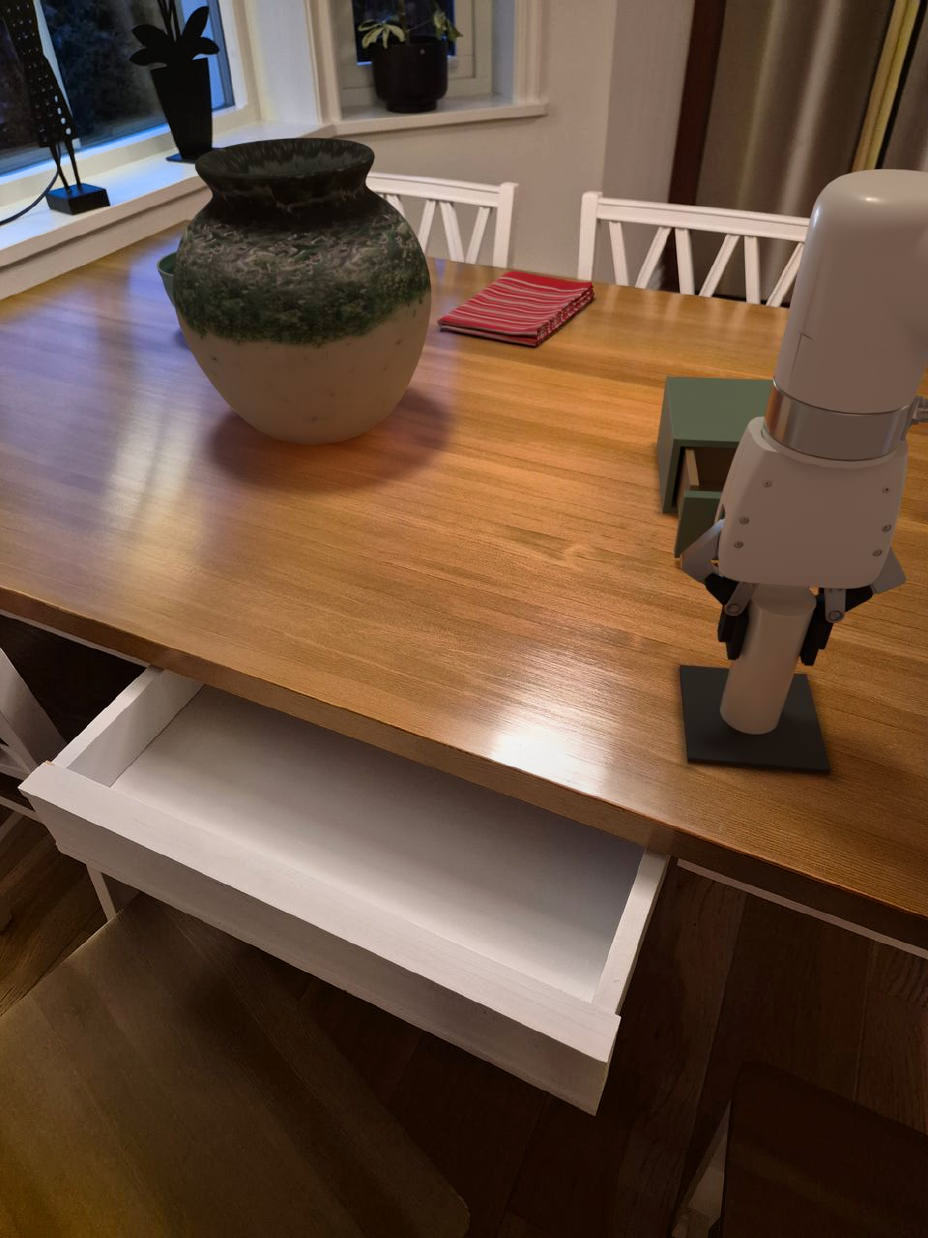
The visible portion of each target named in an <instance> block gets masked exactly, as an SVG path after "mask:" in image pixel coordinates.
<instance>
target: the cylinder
mask: <svg viewBox="0 0 928 1238" xmlns="http://www.w3.org/2000/svg"><path fill="white" fill-rule="evenodd" d="M815 595H816V594H815V593H814V592H813V590H811V589H810V588H809V587H806V586H790V585H776V584H762V583H759V584H758V586H757V588H756V590H755V591H754V593H753V595H752V596H751V598H750V600H749V602H748V603H747V607H746V608H747V611H748V616H749V622H748V626H747V630H746V634H745V638H744V642H743V645H742V649H741V653H740V657H739V659H736V660H730V664H729V672H728V676H727V680H726V684H725V688H724V692H723V696H722V700H721V704H720V713H721V716H722V717H723V719H724V720H725V722H726V723H727V724H729V725H730V726H731V727H733V728H734V729H736V730H738V731H741V732H744V733H748V734H764V733H768V732H770V731H772V730H773V729H774V728H776V726H777V725H778V723H779V720H780V717H781V713H782V710H783V707H784V704H785V701H786V698H787V695H788V691H789V688H790V685H791V682H792V679H793V676H794V673H796V669H797V666H798V663H799V660H800V654H801V651H802V648H803V644H804V641H805V638H806V635H807V632H808V629H809V626H810V623H811V619H812V616H813V613H814V610H815V607H816V597H815Z"/></svg>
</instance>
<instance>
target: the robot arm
mask: <svg viewBox="0 0 928 1238" xmlns="http://www.w3.org/2000/svg"><path fill="white" fill-rule="evenodd" d="M927 366H928V172H927V171H920V170H911V169H899V168H898V169H895V168H879V169H877V168H876V169H865V170H859V171H858V170H857V171H853V172H850V173H847V174H843V175H840V176H839V177H836V178H834V180H832V181H830V182H829V183H828V184H826V186H825V187H824V188H823V189H822V190H821V192H820V193H819V194H818V196H817V198H816V200H815V202H814V205H813V207H812V211H811V215H810V218H809V221H808V225H807V230H806V234H805V238H804V243H803V247H802V252H801V255H800V261H799V265H798V269H797V274H796V279H795V282H794V287H793V290H792V295H791V300H790V304H789V309H788V312H787V317H786V321H785V326H784V331H783V333H782V339H781V343H780V348H779V352H778V356H777V362H776V365H775V369H774V374H773V378H772V380H773V382H772V386H771V390H770V395H769V399H768V403H767V408H766V412H765V417H756V418H754V419H752V420H751V421H750V422H749V424H748V426H747V428H746V430H745V432H744V434H743V436H742V438H741V441H740V443H739V446H738V448H737V450H736V453H735V456H734V459H733V461H732V464H731V467H730V470H729V473H728V476H727V479H726V482H725V486H724V489H723V492H722V496H721V499H720V502H719V506H718V510H717V513H716V517H715V522H714V526H712V527H711V528H710V529H709V530H708V531H707V532H706V533H704V534H703V535H702V536H701V537H700V538H699V539H698V540H696V541H695V542H694V543H693V544H692V545H691V546H690V547H688V548H687V549H686V550H685V551H684V552H683V553H682V554H681V555H680V558H679V560H680V568H681V571H682V572H683V573H684V574H686V575H687V576H688V577H690V578H692V579H693V580H694V581H696V582H697V583H699V584H701V585H703V586H704V587H705V590H707V592H708V593H709V594H711V595H712V597H713V598H714V599H715V600H717V601H718V603H719V604H720V605H722V607H721V610H720V615H719V619H718V620H719V621H718V624H717V641H718V643H725V650H726V657H727V660H728V661H731V660H736V659H739V657H740V653H741V649H742V645H743V642H744V638H745V634H746V630H747V626H748V622H749V616H748V611H747V608H746V607H747V603H748V602H749V600H750V598H751V596H752V595H753V593H754V591H755V590H756V588H757V586H758V584H759V583H762V584H776V585H790V586H806V587H808V588H809V587H810V588H817V594H814V595H815V597H816V607H815V610H814V613H813V616H812V619H811V623H810V626H809V629H808V632H807V635H806V638H805V641H804V644H803V648H802V651H801V654H800V657H799V660H800V662H801V663H800V664H803V665H804V666H805V667H814V665H815V663H816V659H817V658H818V657H817V656H818V654H819V650H825V649H826V647H827V645H828V642H829V639H830V637H831V634H832V630H833V628H834V625H835V624H837V623H840V622H841V621H843V620H844V618H845V615H846V613H847V612H850V611H851V610H853V609H855V608H856V607H859V606H860V605H863V604H864V603H866V602H869V600H871V599H872V598H873V596H874V595H876V594H877V595H880V594H883V593H885V592H888V591H890V590H893V589H895V588H897V587H900V586H902V585H904V584H905V583H906V581H907V575H906V574H905V571H904V569H903V567H902V565H901V563H900V561H899V559H898V558H897V555H896V553H895V551H894V550H893V548H892V541H893V538H894V535H895V531H896V526H897V523H898V520H899V514H900V510H901V506H902V500H903V495H904V489H905V482H906V476H907V468H908V460H909V443H908V441H907V435H908V431H909V430H910V429H911V427H912V426H914V425H915V426H917V425H918V424H919V423H923V424H924V423H927V424H928V398H924V397H923V395H918V392H919V390H920V386H921V383H922V381H923V377H924V375H925V372H926V369H927ZM717 555H718V557H719V561H717V564H716V563H712V561H713V560H712V559H713V558H715V557H716V556H717Z"/></svg>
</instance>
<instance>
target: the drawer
mask: <svg viewBox="0 0 928 1238" xmlns="http://www.w3.org/2000/svg"><path fill="white" fill-rule="evenodd" d="M736 450H737V449H736V448H712V447H689V446H681V448H680V454H679V461H678V467H677V473H676V479H675V492H676V501H677V510H678V514H677V519H678V524H677V529H676V536H675V541H674V548H673V557H674V559H680V555H681V554H682V553H683V552H684V551H685V550H686V549H687V548H688V547H690V546H691V545H692V544H693V543H694V542H695V541H696V540H698V539H699V538H700V537H701V536H702V535H703V534H704V533H706V532H707V531H708V530H709V529H710V528H711V527H712V526H714V522H715V517H716V513H717V510H718V506H719V502H720V499H721V496H722V492H723V489H724V486H725V482H726V479H727V476H728V473H729V470H730V467H731V464H732V461H733V459H734V456H735V453H736ZM711 561H717V562H718V561H719V557H718V555H717V556H716V557H715V558H713V559H712V560H711Z"/></svg>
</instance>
